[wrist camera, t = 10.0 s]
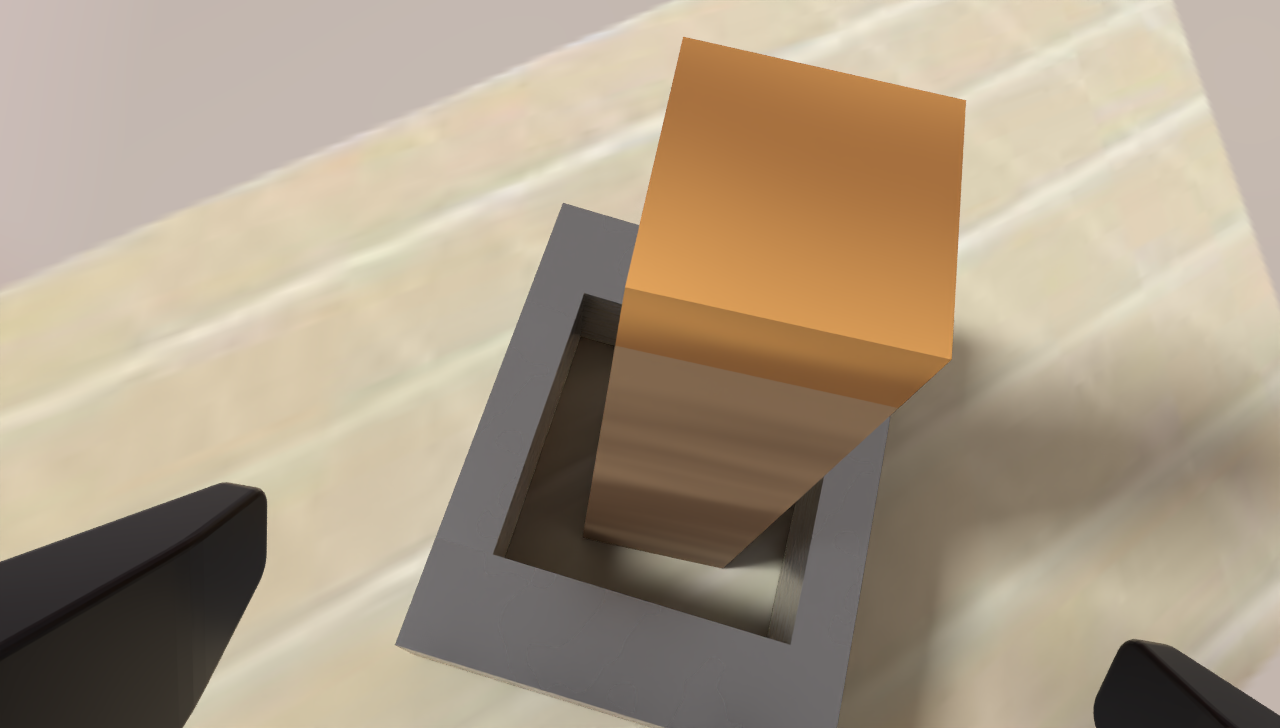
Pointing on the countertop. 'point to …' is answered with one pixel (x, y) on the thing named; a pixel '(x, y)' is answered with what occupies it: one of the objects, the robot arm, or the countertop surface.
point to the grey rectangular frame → (607, 620)
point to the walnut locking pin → (772, 295)
